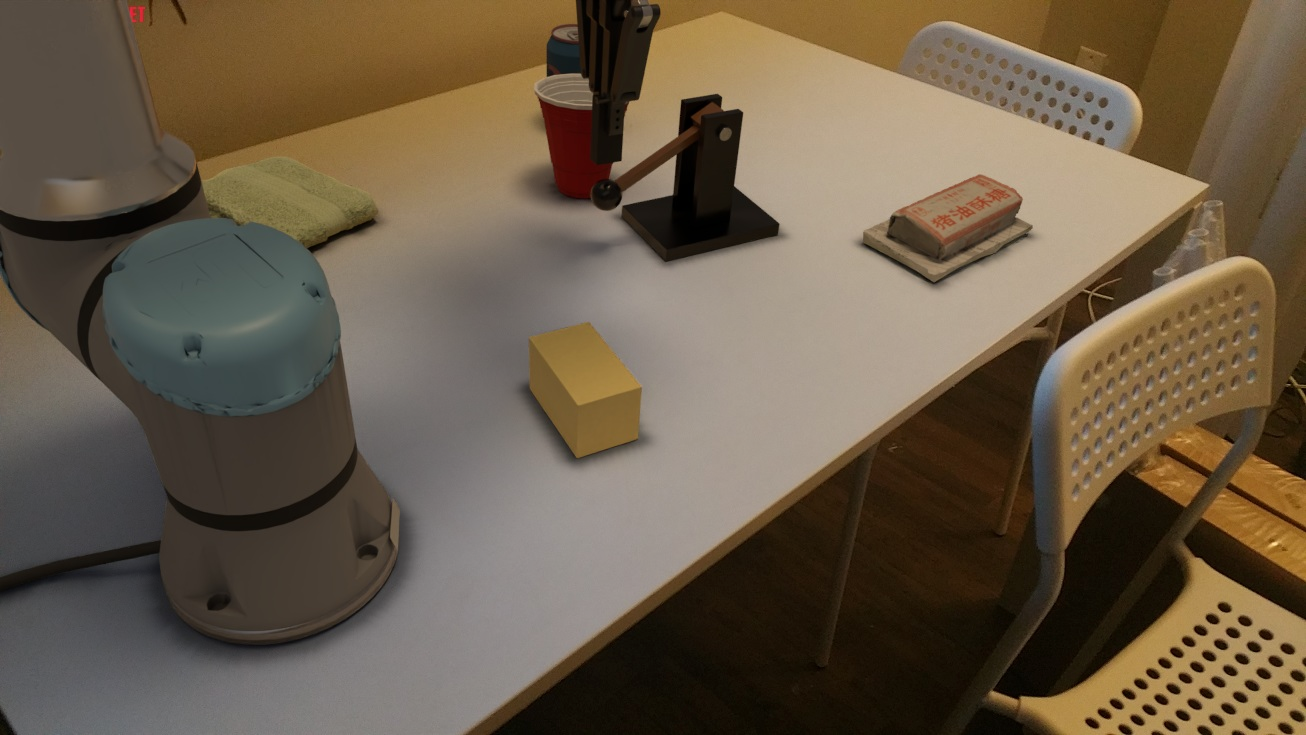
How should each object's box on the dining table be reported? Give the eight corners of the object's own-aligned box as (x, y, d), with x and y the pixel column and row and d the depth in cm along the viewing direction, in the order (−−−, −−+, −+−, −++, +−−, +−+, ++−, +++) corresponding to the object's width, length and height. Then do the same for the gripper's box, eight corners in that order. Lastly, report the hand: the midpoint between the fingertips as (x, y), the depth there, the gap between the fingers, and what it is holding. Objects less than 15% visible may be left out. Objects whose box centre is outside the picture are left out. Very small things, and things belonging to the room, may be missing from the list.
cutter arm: (606, 222, 99) (594, 199, 97) (592, 207, 101) (580, 185, 99) (734, 133, 100) (725, 108, 98) (717, 120, 102) (708, 96, 100)
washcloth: (280, 166, 112) (275, 140, 110) (387, 219, 104) (384, 192, 102) (176, 208, 103) (168, 181, 101) (284, 269, 96) (278, 240, 94)
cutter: (665, 261, 101) (676, 136, 93) (621, 216, 108) (627, 96, 99) (778, 234, 107) (797, 115, 98) (729, 193, 114) (743, 78, 105)
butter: (576, 458, 77) (577, 405, 74) (529, 388, 84) (528, 336, 80) (638, 439, 80) (642, 386, 76) (587, 372, 86) (589, 321, 83)
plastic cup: (634, 169, 117) (639, 71, 110) (623, 213, 108) (628, 110, 101) (543, 160, 117) (543, 61, 110) (525, 203, 109) (523, 100, 101)
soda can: (538, 118, 126) (537, 25, 119) (587, 111, 129) (589, 19, 122) (560, 141, 122) (560, 45, 114) (610, 132, 124) (614, 38, 117)
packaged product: (968, 161, 113) (1043, 196, 108) (957, 198, 116) (1030, 235, 111) (867, 204, 103) (945, 245, 98) (858, 243, 106) (933, 285, 101)
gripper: (696, -83, 79) (671, 182, 93) (622, -120, 88) (610, 128, 102) (613, -79, 76) (600, 196, 90) (545, -117, 85) (543, 138, 99)
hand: (605, 159), depth 96 cm, fingers closed
